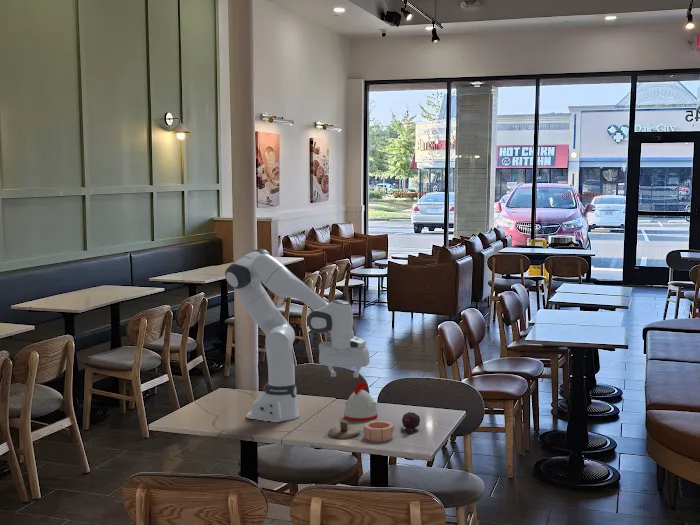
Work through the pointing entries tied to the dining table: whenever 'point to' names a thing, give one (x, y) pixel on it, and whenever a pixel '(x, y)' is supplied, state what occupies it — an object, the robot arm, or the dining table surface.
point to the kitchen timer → (360, 405)
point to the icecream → (410, 421)
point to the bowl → (379, 431)
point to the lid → (344, 431)
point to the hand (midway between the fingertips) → (344, 376)
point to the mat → (347, 438)
